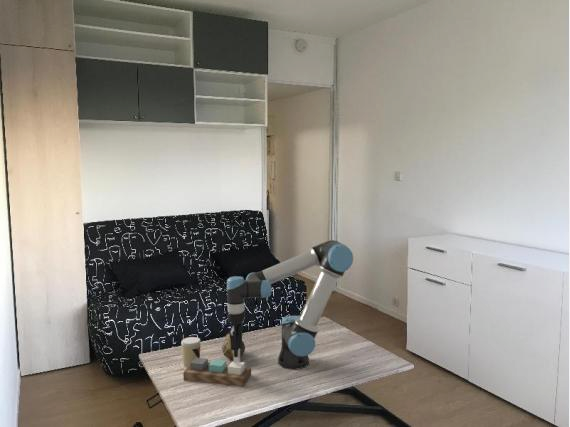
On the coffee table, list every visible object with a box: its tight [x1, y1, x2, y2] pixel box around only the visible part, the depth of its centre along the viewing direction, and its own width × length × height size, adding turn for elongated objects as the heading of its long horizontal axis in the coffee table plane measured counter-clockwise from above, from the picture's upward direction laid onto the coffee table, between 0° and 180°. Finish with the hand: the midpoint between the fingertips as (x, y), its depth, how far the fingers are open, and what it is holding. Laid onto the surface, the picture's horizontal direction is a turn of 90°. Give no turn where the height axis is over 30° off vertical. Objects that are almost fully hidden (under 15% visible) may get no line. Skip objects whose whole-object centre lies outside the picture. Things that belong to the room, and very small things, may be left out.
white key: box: [228, 361, 246, 375], centre depth 211 cm, size 6×6×5 cm
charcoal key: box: [190, 357, 209, 371], centre depth 215 cm, size 6×6×5 cm
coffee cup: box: [180, 336, 202, 368], centre depth 228 cm, size 9×9×12 cm
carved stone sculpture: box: [221, 333, 246, 360], centre depth 234 cm, size 21×12×15 cm, turn 18°
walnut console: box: [183, 362, 252, 388], centre depth 213 cm, size 28×12×4 cm, turn 77°
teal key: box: [209, 359, 227, 373], centre depth 213 cm, size 6×6×5 cm
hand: (236, 362), depth 211 cm, fingers closed
